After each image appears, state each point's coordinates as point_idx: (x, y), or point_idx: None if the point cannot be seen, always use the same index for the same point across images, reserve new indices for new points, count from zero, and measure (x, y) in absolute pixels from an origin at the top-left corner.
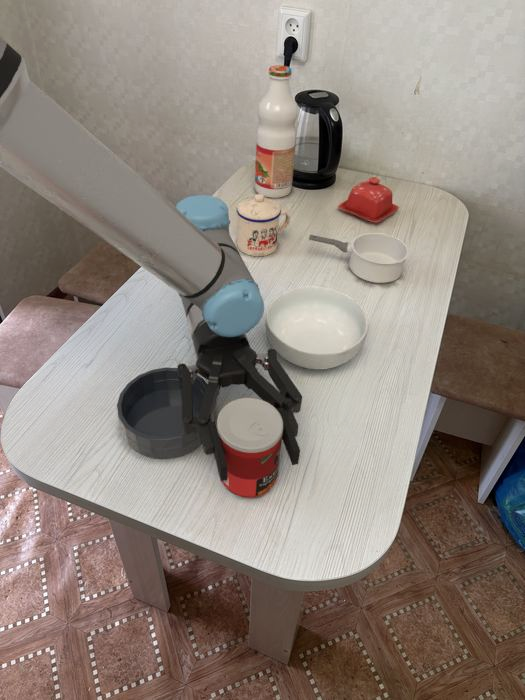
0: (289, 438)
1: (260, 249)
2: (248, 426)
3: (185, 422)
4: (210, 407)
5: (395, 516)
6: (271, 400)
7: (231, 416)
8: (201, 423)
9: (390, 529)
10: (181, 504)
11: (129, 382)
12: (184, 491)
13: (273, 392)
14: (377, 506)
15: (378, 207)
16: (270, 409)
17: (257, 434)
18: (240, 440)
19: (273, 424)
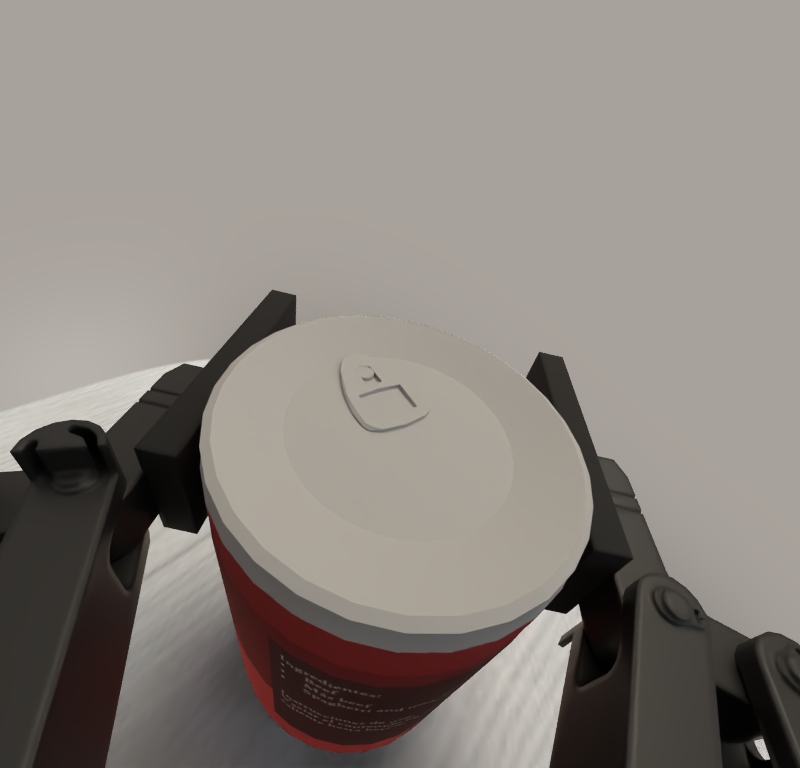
0: (269, 327)
1: None
2: (418, 415)
3: (788, 641)
4: (636, 709)
5: (108, 380)
6: (103, 611)
7: (492, 516)
8: (673, 584)
9: (147, 370)
10: (559, 630)
11: None
12: (551, 674)
13: (22, 628)
14: (113, 407)
15: None
16: (235, 436)
17: (393, 373)
18: (476, 384)
19: (290, 374)
